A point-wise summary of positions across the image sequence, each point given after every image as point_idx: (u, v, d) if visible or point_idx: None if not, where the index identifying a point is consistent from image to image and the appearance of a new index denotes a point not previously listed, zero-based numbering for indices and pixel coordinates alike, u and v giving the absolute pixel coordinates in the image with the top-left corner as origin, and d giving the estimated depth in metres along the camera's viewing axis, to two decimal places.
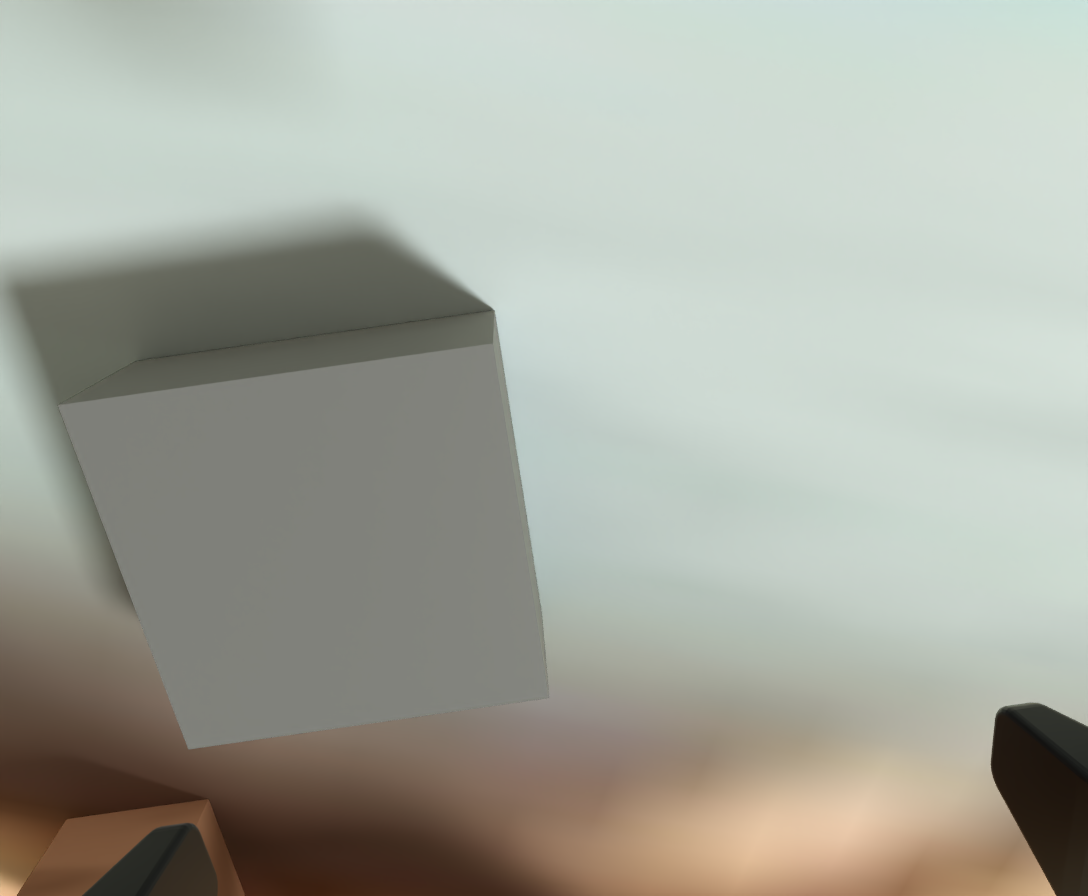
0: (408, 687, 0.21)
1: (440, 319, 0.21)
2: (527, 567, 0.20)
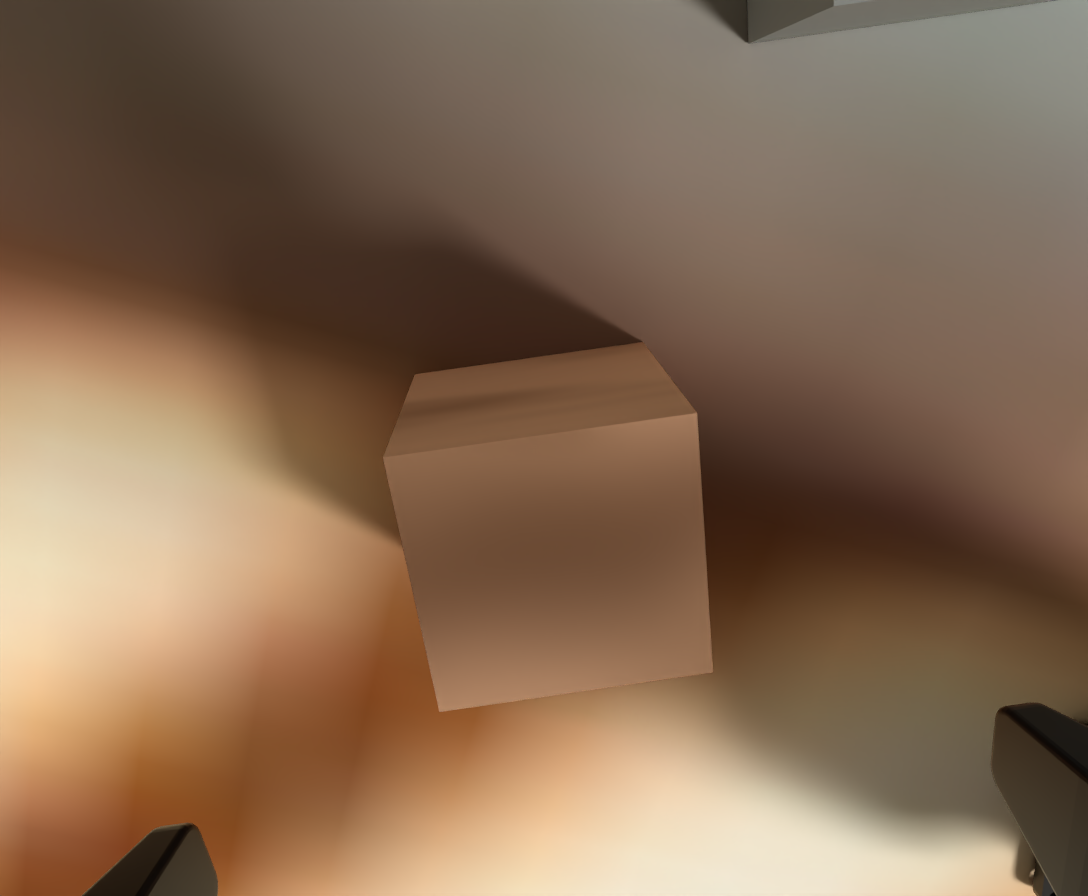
0: None
1: None
2: None
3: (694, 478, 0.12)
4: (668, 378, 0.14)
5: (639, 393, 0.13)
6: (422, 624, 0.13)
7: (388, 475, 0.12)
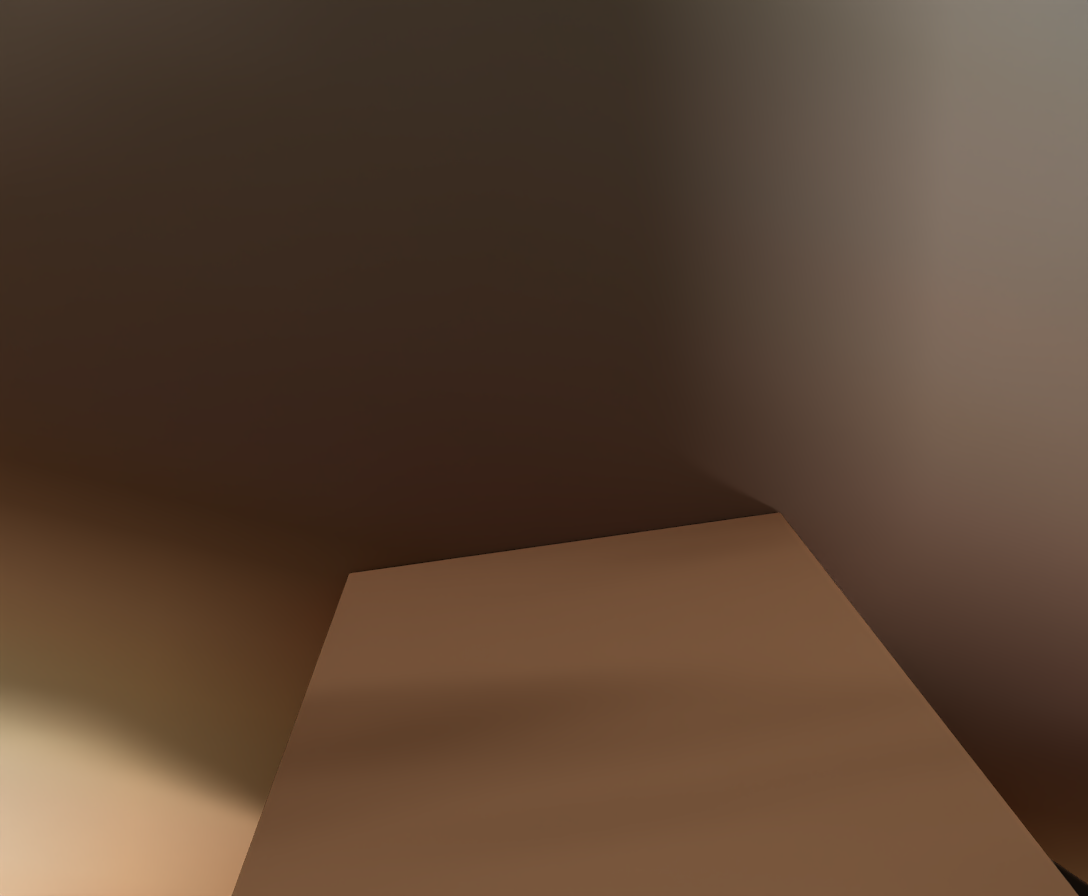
0: None
1: None
2: None
3: None
4: (903, 677, 0.06)
5: (858, 746, 0.05)
6: None
7: None
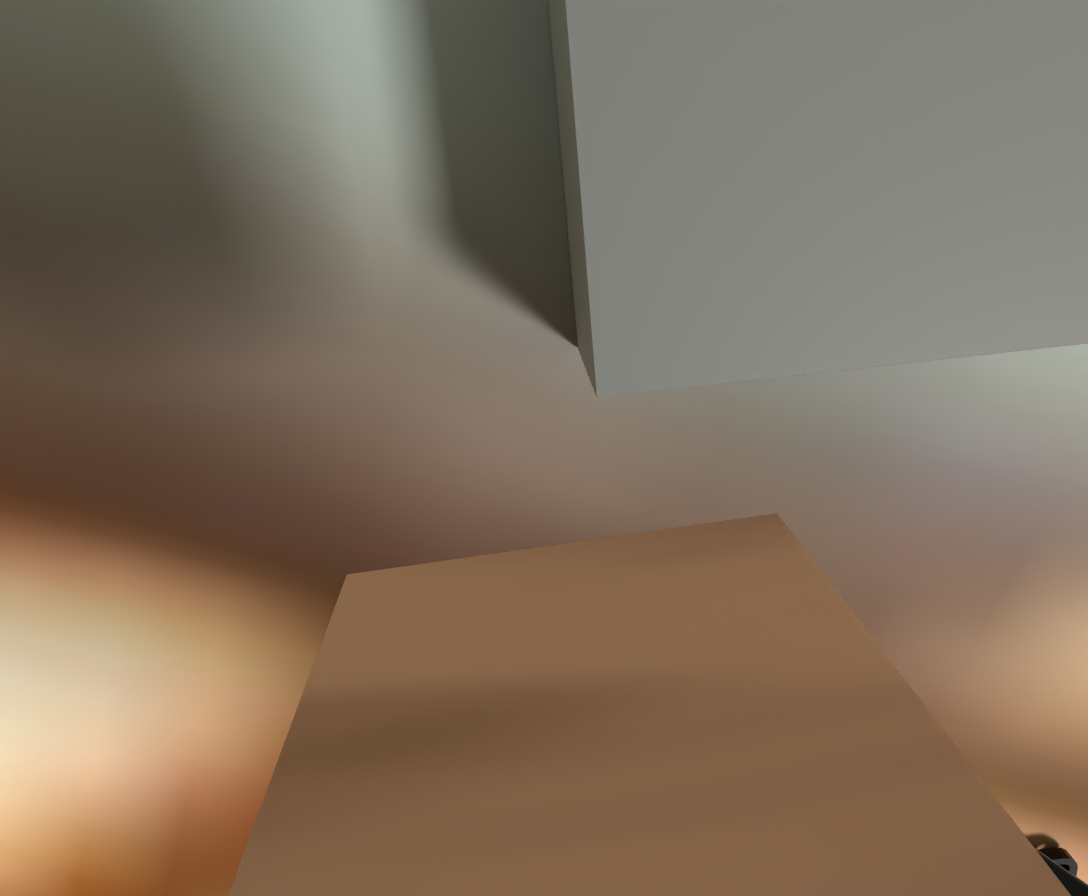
0: (932, 308, 0.14)
1: None
2: None
3: None
4: (899, 679, 0.06)
5: (854, 749, 0.05)
6: None
7: None
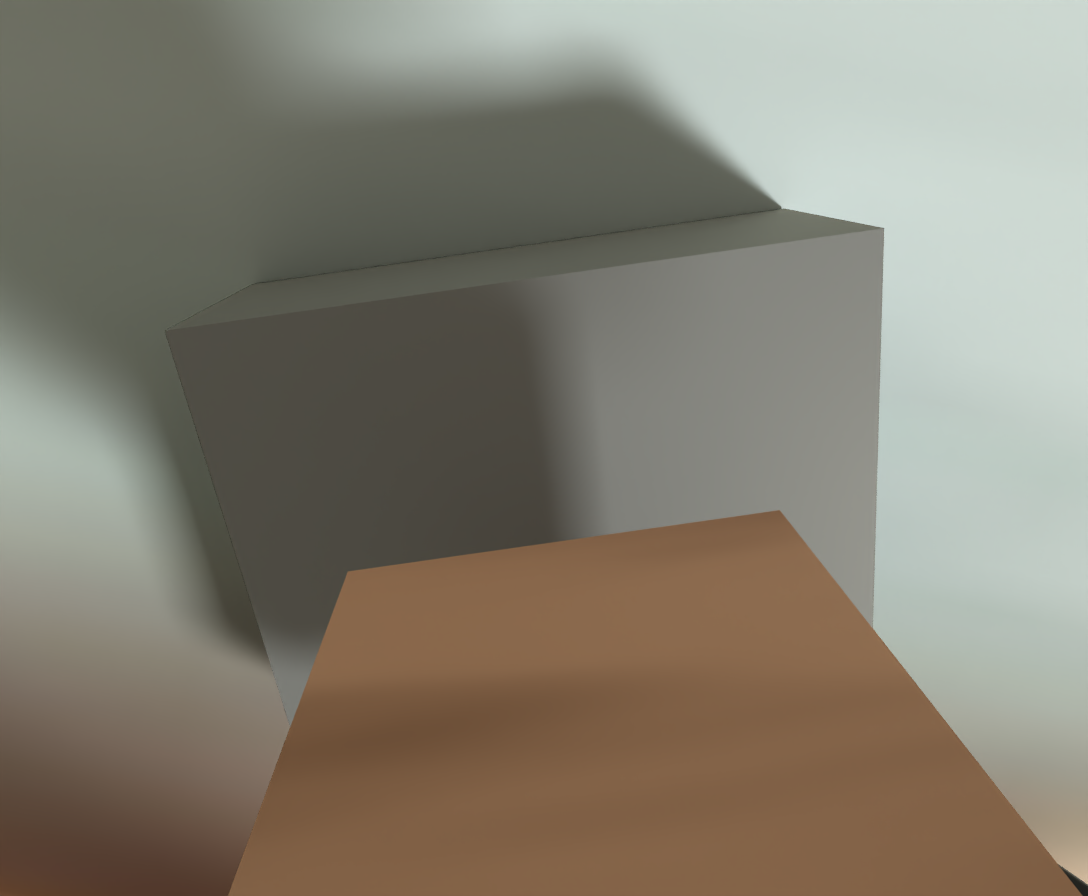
0: None
1: (707, 221, 0.14)
2: (871, 592, 0.13)
3: None
4: (904, 675, 0.06)
5: (858, 744, 0.05)
6: None
7: None
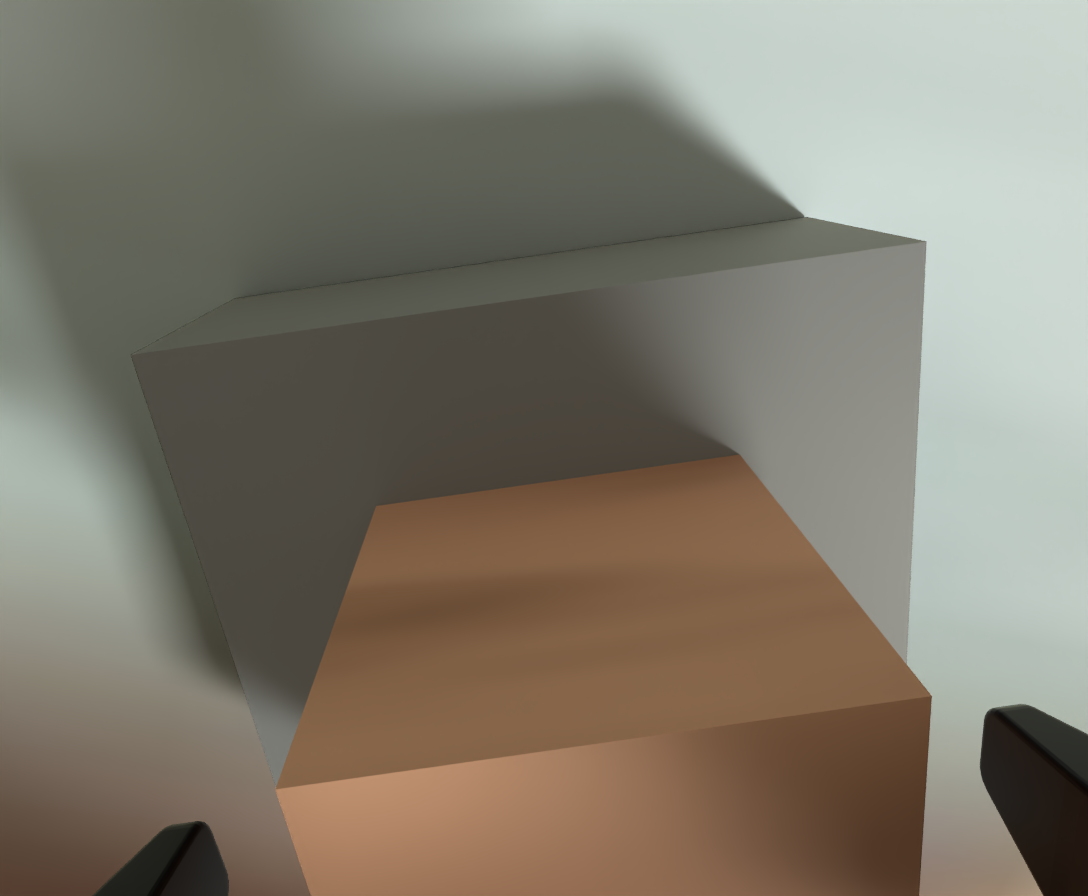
0: None
1: (725, 230, 0.13)
2: (905, 635, 0.12)
3: (911, 809, 0.06)
4: (822, 564, 0.08)
5: (781, 607, 0.07)
6: None
7: (289, 819, 0.06)
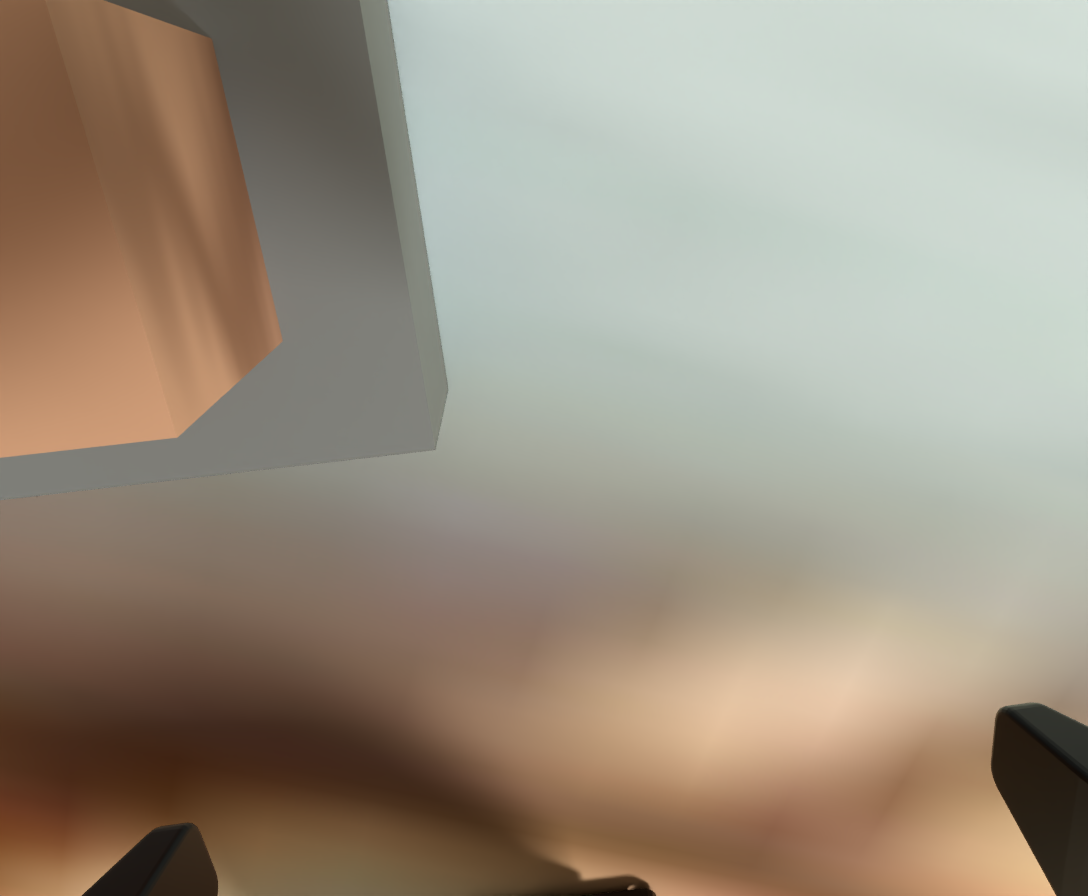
0: (235, 424, 0.15)
1: None
2: (397, 236, 0.14)
3: (64, 99, 0.08)
4: (124, 8, 0.10)
5: None
6: None
7: None
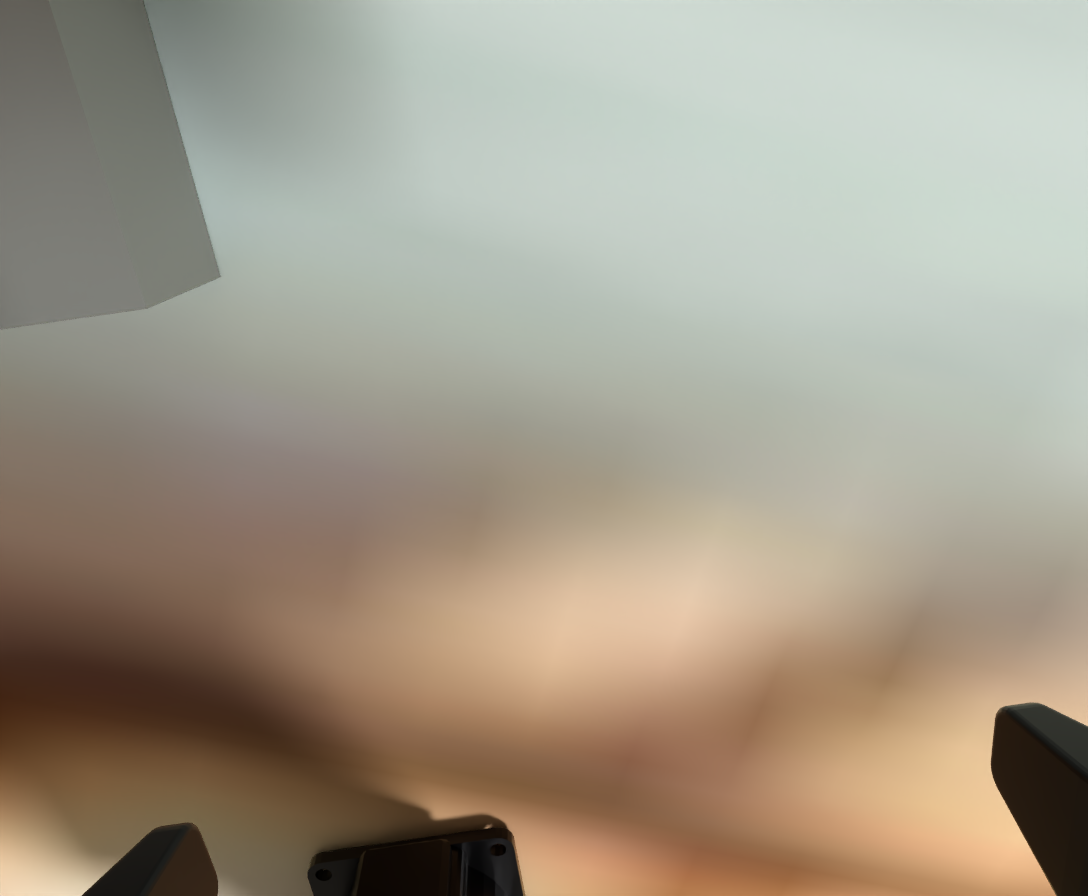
0: None
1: None
2: (67, 63, 0.13)
3: None
4: None
5: None
6: None
7: None
